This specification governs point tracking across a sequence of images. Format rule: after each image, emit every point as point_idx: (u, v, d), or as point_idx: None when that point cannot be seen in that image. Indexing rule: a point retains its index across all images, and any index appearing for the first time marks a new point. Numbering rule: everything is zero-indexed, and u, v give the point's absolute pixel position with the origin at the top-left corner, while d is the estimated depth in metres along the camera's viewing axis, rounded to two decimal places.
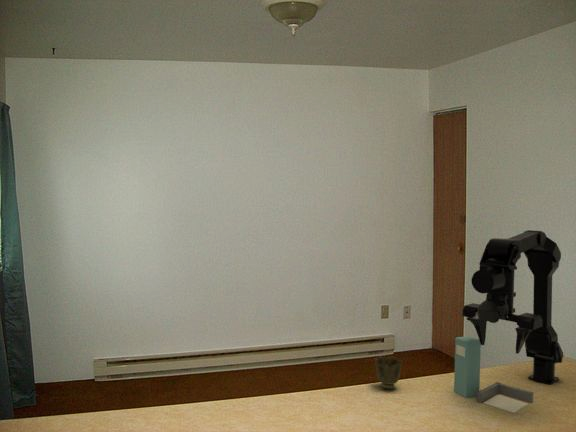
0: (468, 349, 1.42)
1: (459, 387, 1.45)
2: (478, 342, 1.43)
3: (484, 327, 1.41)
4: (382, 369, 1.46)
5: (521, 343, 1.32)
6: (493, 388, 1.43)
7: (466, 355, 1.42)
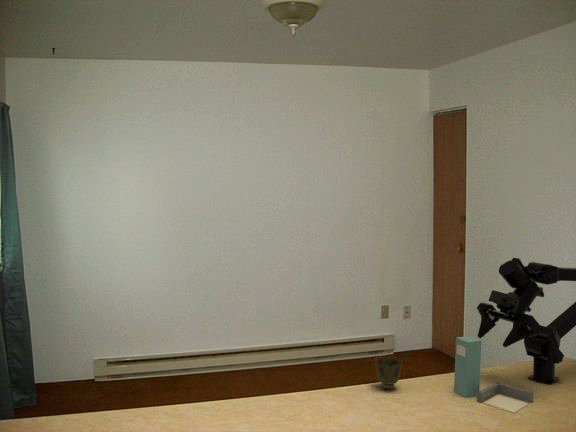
0: (468, 349, 1.42)
1: (459, 387, 1.45)
2: (479, 342, 1.43)
3: (488, 327, 1.54)
4: (382, 369, 1.46)
5: (511, 338, 1.43)
6: (493, 388, 1.43)
7: (466, 355, 1.42)
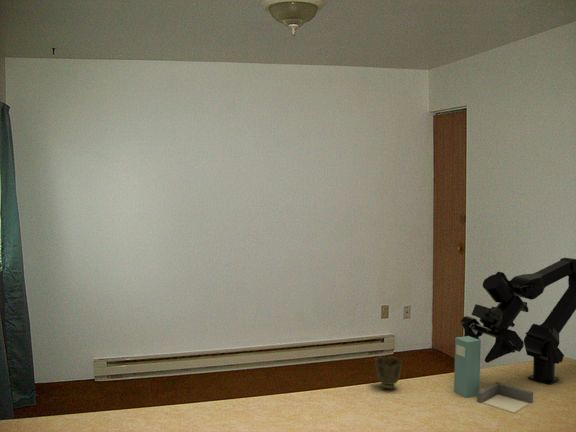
0: (468, 349, 1.42)
1: (459, 387, 1.45)
2: (478, 342, 1.43)
3: None
4: (382, 369, 1.46)
5: (493, 354, 1.41)
6: (493, 388, 1.43)
7: (466, 355, 1.42)
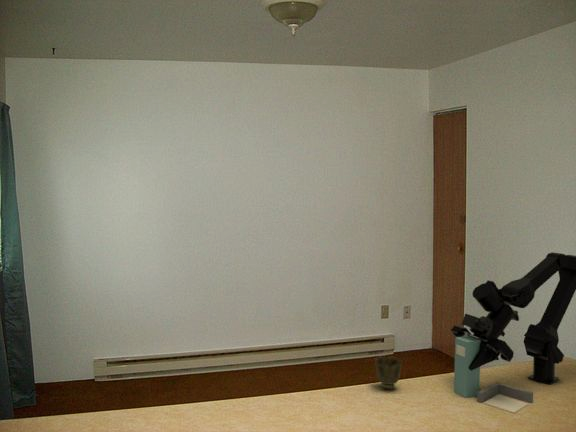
0: (468, 349, 1.42)
1: (459, 387, 1.45)
2: (478, 342, 1.43)
3: None
4: (382, 369, 1.46)
5: (477, 361, 1.42)
6: (493, 388, 1.43)
7: (466, 355, 1.42)
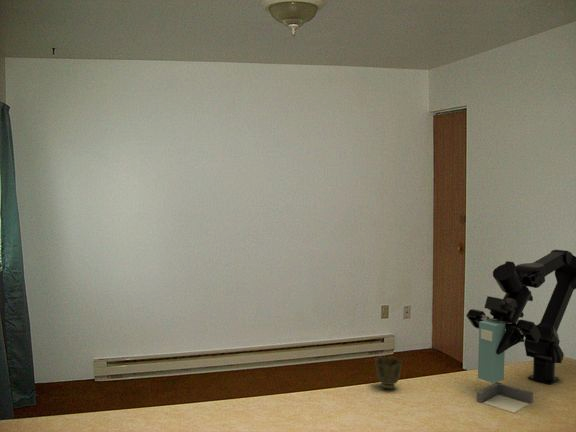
0: (495, 332, 1.37)
1: (484, 373, 1.39)
2: (503, 325, 1.39)
3: None
4: (382, 369, 1.46)
5: (505, 345, 1.37)
6: (493, 388, 1.43)
7: (494, 339, 1.37)
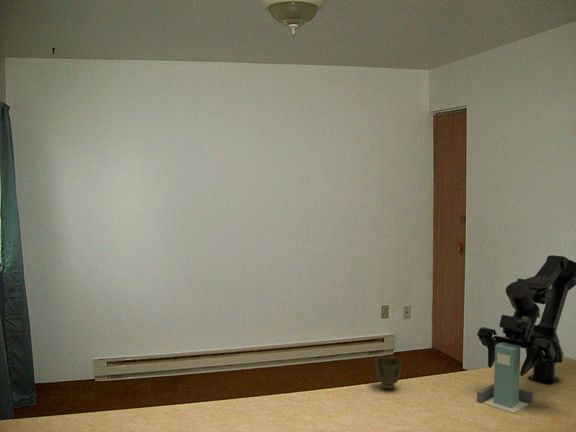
0: (513, 356, 1.35)
1: (501, 398, 1.37)
2: (519, 348, 1.37)
3: None
4: (382, 369, 1.46)
5: (528, 366, 1.34)
6: (493, 388, 1.43)
7: (511, 363, 1.35)
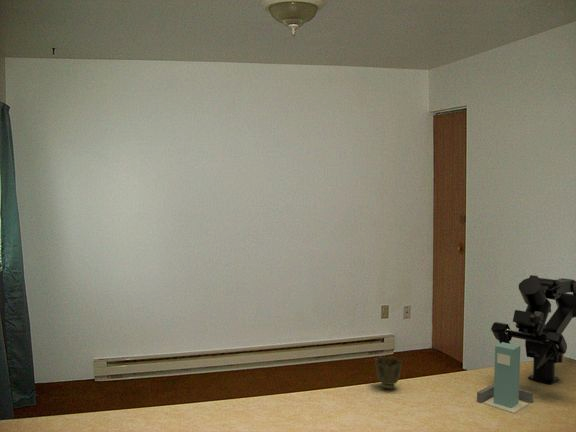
0: (513, 356, 1.35)
1: (501, 398, 1.37)
2: (519, 348, 1.37)
3: None
4: (382, 369, 1.46)
5: (542, 359, 1.40)
6: (493, 388, 1.43)
7: (511, 363, 1.35)
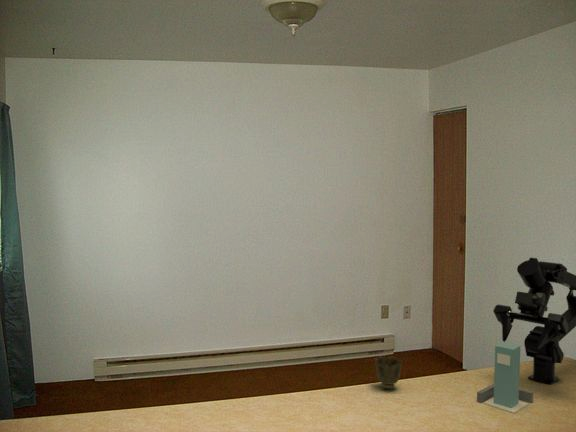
0: (513, 356, 1.35)
1: (501, 398, 1.37)
2: (519, 348, 1.37)
3: (509, 329, 1.51)
4: (382, 369, 1.46)
5: (544, 339, 1.42)
6: (493, 388, 1.43)
7: (511, 363, 1.35)
